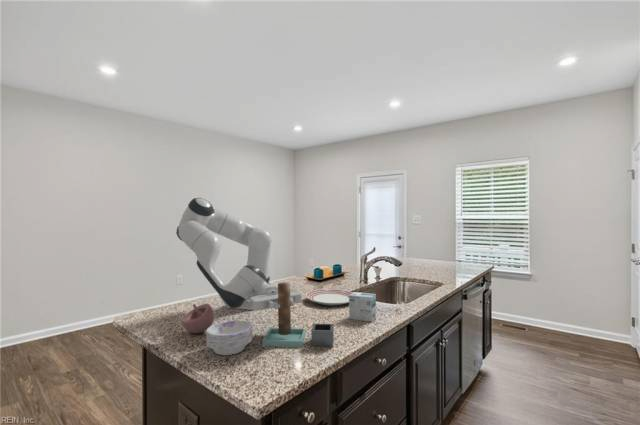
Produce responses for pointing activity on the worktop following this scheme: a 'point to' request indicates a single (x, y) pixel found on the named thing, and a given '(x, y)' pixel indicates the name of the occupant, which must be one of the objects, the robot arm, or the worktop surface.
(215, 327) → the paper bowls
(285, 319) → the dowel pin
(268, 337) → the tray
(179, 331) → the worktop surface
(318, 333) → the grey square socket base
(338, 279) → the worktop surface
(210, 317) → the mortar and pestle
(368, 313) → the light bulb box
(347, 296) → the dinner plate
